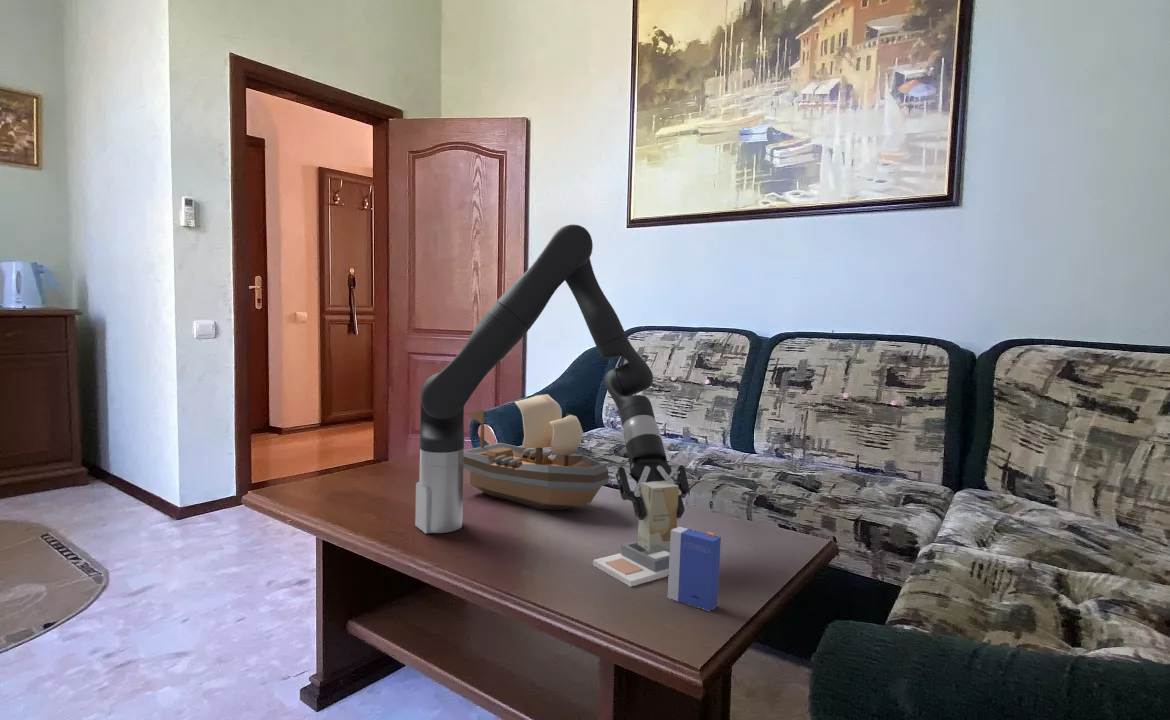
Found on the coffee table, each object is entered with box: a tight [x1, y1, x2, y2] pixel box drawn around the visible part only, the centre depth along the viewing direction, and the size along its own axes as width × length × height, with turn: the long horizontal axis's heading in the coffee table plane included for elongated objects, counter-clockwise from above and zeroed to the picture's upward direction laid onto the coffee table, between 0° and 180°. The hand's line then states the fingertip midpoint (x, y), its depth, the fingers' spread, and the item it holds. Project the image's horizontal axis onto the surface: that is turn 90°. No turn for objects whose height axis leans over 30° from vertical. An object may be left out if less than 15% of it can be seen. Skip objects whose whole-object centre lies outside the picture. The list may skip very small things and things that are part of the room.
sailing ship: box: [463, 393, 609, 511], centre depth 158 cm, size 16×45×27 cm, turn 55°
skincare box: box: [637, 481, 679, 552], centre depth 119 cm, size 6×4×12 cm
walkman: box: [667, 526, 722, 612], centre depth 104 cm, size 8×3×12 cm, turn 54°
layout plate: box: [592, 540, 670, 588], centre depth 118 cm, size 16×11×3 cm
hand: (661, 517), depth 118 cm, fingers closed on skincare box, 7 cm apart
